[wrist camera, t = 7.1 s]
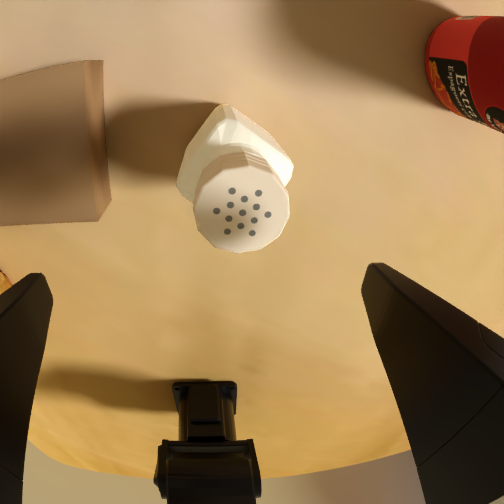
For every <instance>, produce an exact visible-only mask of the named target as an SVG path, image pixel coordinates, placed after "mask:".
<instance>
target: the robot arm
mask: <svg viewBox="0 0 504 504" xmlns="http://www.w3.org/2000/svg"><path fill="white" fill-rule="evenodd" d="M361 293H362V297H363V301H364V304H365V308H366V312H367V315H368V319H369V323H370V326H371V330H372V334H373V337H374V340H375V343H376V346H377V349H378V352H379V354H380V357H381V360H382V362H383V365H384V368H385V371H386V373H387V376H388V379H389V382H390V385H391V388H392V391H393V393H394V396H395V399H396V402H397V405H398V408H399V411H400V414H401V418H402V421H403V424H404V427H405V430H406V433H407V437H408V440H409V443H410V447H411V450H412V453H413V457H414V460H415V464H416V467H417V472H418V475H419V479H420V483H421V486H422V490H423V494H424V497H425V502H426V504H504V338H502V337H501V336H499V335H498V334H496V333H495V332H493V331H492V330H490V329H488V328H487V327H486V326H484V325H483V324H481V323H478V322H477V321H476V320H475V319H473V318H472V317H470V316H469V315H467V314H466V313H464V312H463V311H461V310H459V309H458V308H456V307H455V306H453V305H452V304H450V303H448V302H447V301H445V300H444V299H442V298H441V297H439V296H437V295H436V294H434V293H433V292H431V291H429V290H428V289H426V288H424V287H423V286H421V285H420V284H418V283H416V282H415V281H413V280H411V279H410V278H408V277H406V276H405V275H403V274H401V273H400V272H398V271H396V270H395V269H393V268H391V267H390V266H388V265H386V264H385V263H371V264H369V265H368V267H367V270H366V273H365V277H364V280H363V284H362V288H361ZM52 306H53V296H52V293H51V291H50V288H49V286H48V283H47V281H46V278H45V276H44V275H43V274H42V273H30V274H28V275H27V276H25V277H24V278H23V279H21V280H20V281H18V282H17V283H15V284H14V285H13V286H11V287H10V288H9V289H7V290H6V291H4V292H3V293H2V294H0V504H22V490H23V481H22V480H23V472H24V461H25V452H26V443H27V436H28V429H29V422H30V416H31V410H32V405H33V399H34V394H35V389H36V384H37V380H38V375H39V371H40V367H41V363H42V358H43V354H44V350H45V345H46V339H47V333H48V327H49V322H50V316H51V311H52ZM172 390H173V394H174V398H175V402H176V406H177V410H178V414H179V441H168V440H165V439H163V440H162V445H160V446H158V460H157V465H156V470H155V474H154V484H155V485H156V486H157V487H158V488H159V491H160V493H161V497H162V499H167V504H256V498H260V497H261V476H260V470H259V466H258V461H257V457H256V452H255V448H254V443H253V439H247V440H238V441H237V440H236V430H235V421H234V415H235V414H236V399H237V384H236V383H234V382H226V383H174V384H173V386H172Z"/></svg>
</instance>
